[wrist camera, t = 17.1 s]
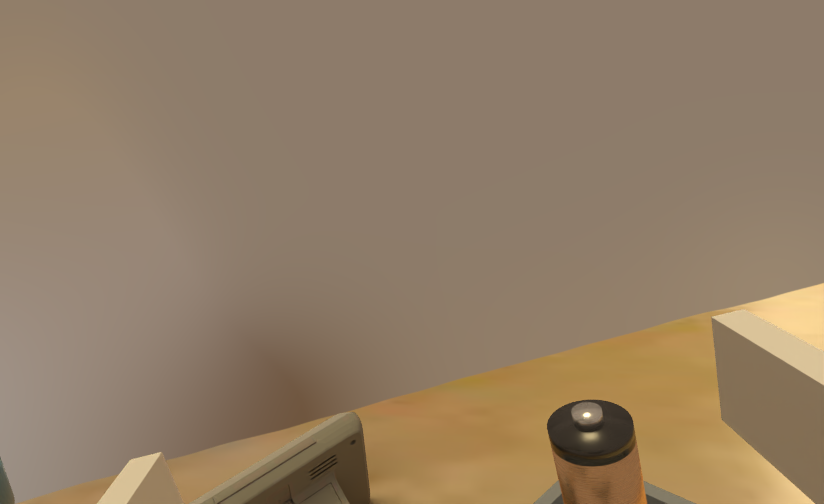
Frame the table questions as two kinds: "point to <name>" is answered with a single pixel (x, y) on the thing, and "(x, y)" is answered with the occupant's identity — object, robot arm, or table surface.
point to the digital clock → (305, 470)
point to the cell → (596, 454)
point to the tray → (657, 498)
